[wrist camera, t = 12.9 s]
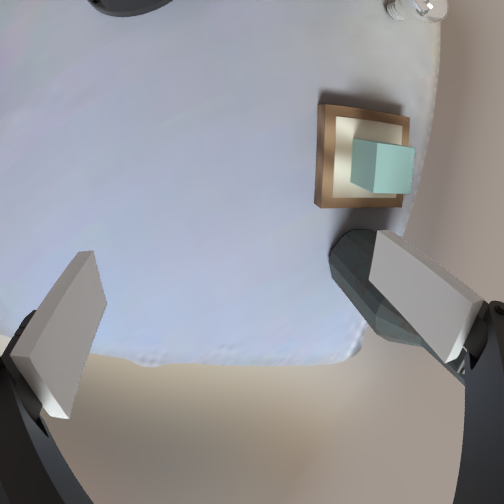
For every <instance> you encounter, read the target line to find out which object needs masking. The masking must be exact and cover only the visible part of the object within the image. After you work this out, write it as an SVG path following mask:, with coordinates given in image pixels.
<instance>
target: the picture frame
mask: <svg viewBox="0 0 504 504" xmlns="http://www.w3.org/2000/svg"><path fill="white" fill-rule="evenodd" d="M409 123H410V118H409V117H404V116H400V115H395V114H390V113H384V112H379V111H373V110H367V109H360V108H353V107H346V106H338V105H329V104H321V105H318V127H317V159H316V180H315V198H314V204H316V205H317V206H318V207H320V208H365V207H402V201H403V194H396V193H372V192H370V191H368V190H366V189H364V188H362V187H360V186H357V185H355V184H353V183H351V182H350V177H351V163H352V145H353V139H361V140H371V141H379V142H387V143H393V144H398V145H403V146H407V147H408V142H409Z"/></svg>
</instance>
